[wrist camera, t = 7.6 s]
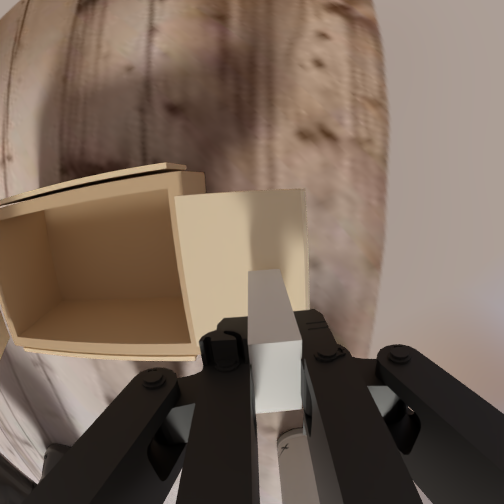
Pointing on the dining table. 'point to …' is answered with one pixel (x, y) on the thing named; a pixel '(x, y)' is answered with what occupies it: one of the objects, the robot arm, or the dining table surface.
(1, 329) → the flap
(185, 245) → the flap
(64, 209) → the carton
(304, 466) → the travel mug
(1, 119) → the dining table surface
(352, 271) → the dining table surface
